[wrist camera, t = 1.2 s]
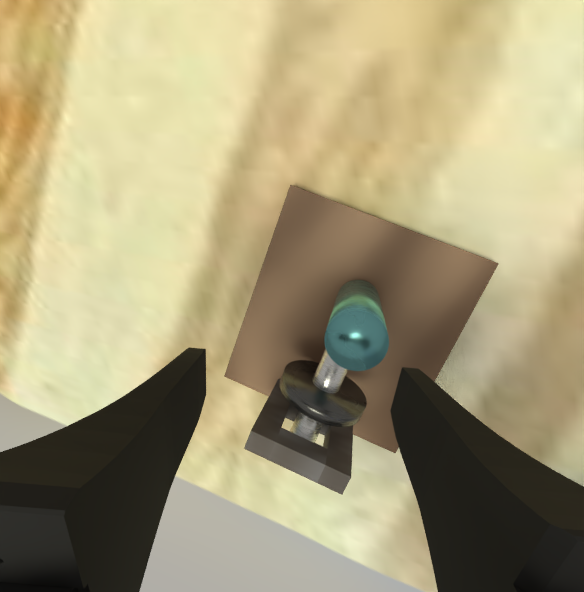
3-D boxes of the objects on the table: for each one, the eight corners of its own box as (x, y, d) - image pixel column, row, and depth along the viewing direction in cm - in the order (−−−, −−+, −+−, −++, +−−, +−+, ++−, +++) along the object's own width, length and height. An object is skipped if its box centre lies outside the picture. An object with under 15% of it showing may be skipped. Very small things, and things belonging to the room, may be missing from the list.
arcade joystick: (405, 296, 21) (429, 337, 13) (334, 444, 24) (322, 542, 16) (328, 265, 21) (310, 289, 14) (268, 414, 24) (229, 496, 17)
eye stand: (492, 261, 21) (558, 282, 14) (393, 444, 24) (406, 532, 17) (293, 186, 22) (262, 170, 15) (229, 370, 26) (180, 425, 19)
